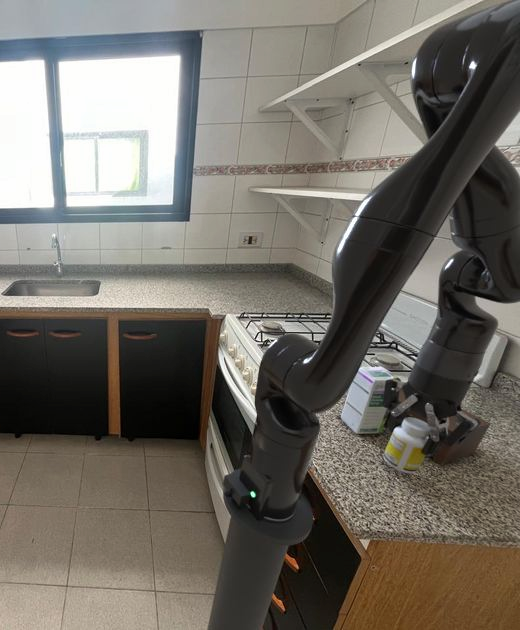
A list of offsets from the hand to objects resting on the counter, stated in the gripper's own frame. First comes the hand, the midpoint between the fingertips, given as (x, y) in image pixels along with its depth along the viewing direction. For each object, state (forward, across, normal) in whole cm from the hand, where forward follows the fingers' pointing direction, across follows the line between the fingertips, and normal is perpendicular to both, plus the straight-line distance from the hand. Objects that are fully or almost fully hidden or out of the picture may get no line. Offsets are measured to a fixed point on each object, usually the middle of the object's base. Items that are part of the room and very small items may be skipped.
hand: (409, 441), depth 66 cm
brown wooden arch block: (+7, -5, +14) cm, 17 cm away
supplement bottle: (+6, 0, 0) cm, 6 cm away
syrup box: (+7, -12, +5) cm, 14 cm away
